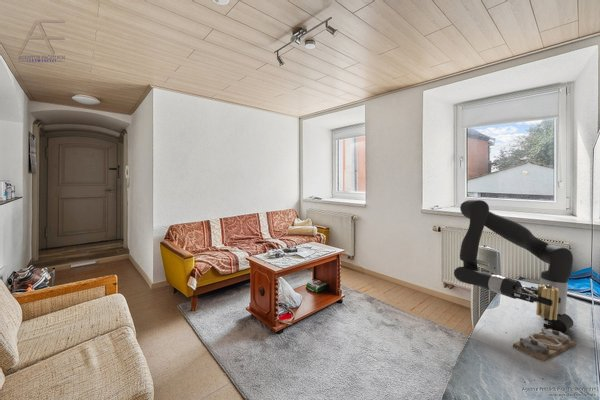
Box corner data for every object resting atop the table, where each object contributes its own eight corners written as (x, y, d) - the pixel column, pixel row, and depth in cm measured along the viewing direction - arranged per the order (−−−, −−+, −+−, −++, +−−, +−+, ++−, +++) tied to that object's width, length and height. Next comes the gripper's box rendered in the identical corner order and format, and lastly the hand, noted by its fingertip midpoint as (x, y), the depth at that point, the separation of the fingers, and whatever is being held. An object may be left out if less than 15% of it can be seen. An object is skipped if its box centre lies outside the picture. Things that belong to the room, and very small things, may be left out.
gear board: (545, 332, 109) (546, 323, 109) (575, 344, 101) (576, 334, 101) (513, 346, 98) (513, 337, 98) (543, 361, 90) (544, 350, 90)
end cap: (566, 338, 105) (567, 322, 105) (542, 330, 111) (543, 314, 111) (573, 332, 111) (574, 316, 110) (550, 324, 117) (551, 309, 116)
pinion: (540, 311, 103) (542, 281, 103) (560, 318, 98) (562, 287, 98) (532, 314, 101) (535, 283, 100) (552, 321, 96) (555, 289, 95)
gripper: (495, 279, 109) (547, 294, 94) (514, 275, 115) (566, 289, 100) (494, 297, 109) (546, 315, 94) (513, 292, 115) (564, 308, 100)
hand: (556, 301), depth 97 cm, fingers closed on pinion, 5 cm apart
